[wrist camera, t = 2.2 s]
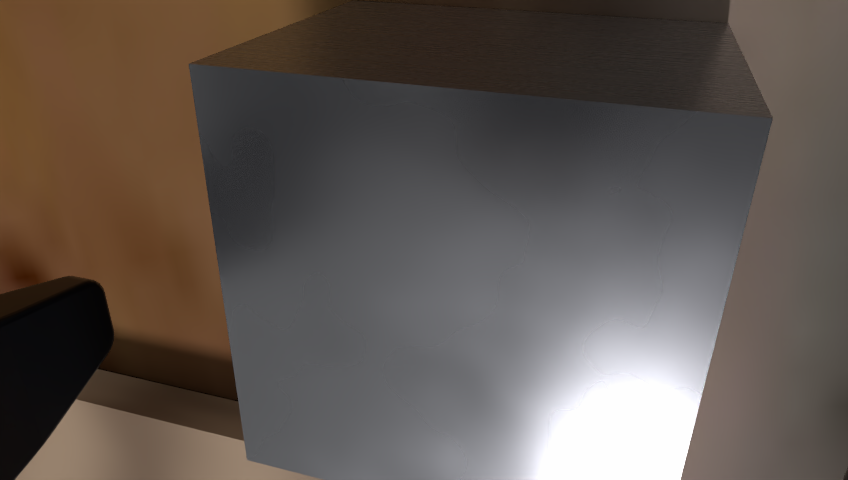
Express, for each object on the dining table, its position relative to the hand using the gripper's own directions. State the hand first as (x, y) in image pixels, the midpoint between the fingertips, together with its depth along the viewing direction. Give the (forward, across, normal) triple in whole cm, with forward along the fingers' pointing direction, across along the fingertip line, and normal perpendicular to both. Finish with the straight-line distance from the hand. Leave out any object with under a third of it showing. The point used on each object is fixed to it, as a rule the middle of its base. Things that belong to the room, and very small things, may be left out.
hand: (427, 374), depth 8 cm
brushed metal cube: (+6, 0, 0) cm, 6 cm away
